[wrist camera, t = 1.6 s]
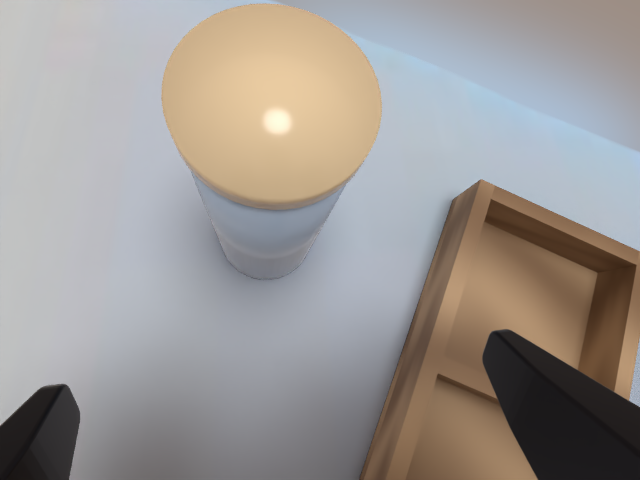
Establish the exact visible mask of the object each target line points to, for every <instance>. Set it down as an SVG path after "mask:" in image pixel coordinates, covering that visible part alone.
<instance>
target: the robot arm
mask: <svg viewBox="0 0 640 480" xmlns="http://www.w3.org/2000/svg"><path fill="white" fill-rule="evenodd" d="M482 362H483V366H484V368H485V371H486V373H487V375H488V378H489V380H490V382H491V385H492V387H493V390H494V392H495V394H496V397H497V399H498V401H499V404H500V406H501V408H502V411H503V413H504V416H505V418H506V420H507V422H508V425H509V427H510V429H511V431H512V433H513V435H514V437H515V438H516V440H517V442H518V444H519V446H520V448H521V450H522V451H523V453H524V455H525V457H526V459H527V461H528V463H529V464H530V466H531V468H532V470H533V472H534V474H535V475H536V477H537V479H538V480H640V407H638V406H637V405H635V404H633V403H632V402H630V401H628V400H627V399H625V398H623V397H622V396H620V395H619V394H617V393H615V392H614V391H612V390H610V389H609V388H607V387H605V386H604V385H602V384H600V383H599V382H597V381H595V380H594V379H592V378H590V377H589V376H587V375H585V374H584V373H582V372H580V371H579V370H577V369H575V368H574V367H572V366H570V365H569V364H567V363H565V362H564V361H562V360H560V359H559V358H557V357H555V356H554V355H552V354H550V353H549V352H547V351H545V350H544V349H542V348H540V347H539V346H537V345H535V344H534V343H532V342H530V341H529V340H527V339H525V338H524V337H522V336H520V335H519V334H517V333H515V332H514V331H512V330H509V329H502V330H494V331H492V332H491V333H490V334H489V336H488V339H487V342H486V345H485V348H484V351H483V354H482ZM79 423H80V411H79V408H78V405H77V403H76V401H75V399H74V397H73V395H72V392H71V390H70V388H69V387H68V386H67V385H66V384H57V385H48V386H44V387H42V388H40V389H39V390H37V391H36V392H35V393H34V394H33V395H32V396H31V397H30V398H29V399H28V400H27V401H26V402H25V403H24V404H23V405H22V406H21V407H19V408H18V409H17V410H16V411H15V412H14V413H13V414H12V415H11V416H10V417H9V418H8V419H7V420H6V421H5V422H4V423H3V424H2V425H1V426H0V480H69V476H70V471H71V466H72V460H73V455H74V450H75V445H76V439H77V434H78V429H79Z"/></svg>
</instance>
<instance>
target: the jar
mask: <svg viewBox="0 0 640 480" xmlns="http://www.w3.org/2000/svg"><path fill="white" fill-rule="evenodd" d="M162 106H163V113H164V116H165V120H166V123H167V126H168V129H169V131H170V133H171V136H172V138H173V140H174V143H175V145H176V147H177V149H178V151H179V154H180V156H181V157H182V159H183V160H184V162H185V163H186V165H187V166H188V168H189V169H190V170H191V173H192V175H193V178H194V180H195V183H196V185H197V188H198V190H199V192H200V195H201V197H202V200H203V202H204V205H205V207H206V210H207V212H208V215H209V217H210V220H211V222H212V225H213V227H214V229H215V232H216V234H217V237H218V239H219V242H220V244H221V247H222V249H223V251H224V254H225V256H226V257H227V259H228V261H229V262H230V263H231V264H232V265H233V266H234V267H235V268H236V269H237V270H238V271H240V272H241V273H243V274H245V275H247V276H249V277H252V278H256V279H264V280H267V279H276V278H279V277H283V276H285V275H287V274H289V273H291V272H292V271H294V270H295V269H296V268H297V267H298V266H299V265H300V264H301V263H302V262H303V260H304V259H305V257H306V255H307V253H308V252H309V250H310V248H311V246H312V245H313V243H314V241H315V239H316V237H317V236H318V234H319V232H320V230H321V228H322V227H323V225H324V223H325V221H326V219H327V218H328V216H329V214H330V212H331V211H332V209H333V207H334V205H335V203H336V202H337V200H338V198H339V196H340V194H341V193H342V191H343V189H344V187H345V185H346V184H347V183H348V182H349V181H350V180H351V178H352V177H353V176H354V175H355V174H356V172H357V171H358V170H359V168H360V167H361V165H362V163H363V162H364V160H365V158H366V157H367V155H368V153H369V152H370V150H371V148H372V146H373V144H374V142H375V140H376V137H377V134H378V131H379V127H380V121H381V112H382V102H381V93H380V88H379V84H378V80H377V78H376V75H375V73H374V70H373V68H372V66H371V64H370V63H369V61H368V59H367V57H366V56H365V54H364V53H363V52H362V50H361V49H360V48H359V46H358V45H357V44H356V43H355V42H354V41H353V40H352V39H351V38H350V37H349V36H348V35H347V34H345V33H344V32H343V31H342V30H341V29H339V28H338V27H337V26H335V25H334V24H332V23H331V22H329V21H327V20H325V19H323V18H322V17H320V16H318V15H315V14H313V13H310V12H308V11H305V10H302V9H299V8H295V7H291V6H285V5H279V4H250V5H243V6H238V7H234V8H231V9H227V10H224V11H222V12H219V13H217V14H214V15H212V16H211V17H209V18H207V19H205V20H204V21H202V22H201V23H199V24H198V25H197V26H195V27H194V28H193V29H191V30H190V31H189V32H188V33H187V34H186V35H185V36H184V37H183V38H182V40H181V41H180V42H179V44H178V45H177V46H176V48H175V49H174V51H173V53H172V55H171V57H170V59H169V61H168V63H167V66H166V69H165V72H164V77H163V82H162Z"/></svg>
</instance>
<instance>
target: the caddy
mask: <svg viewBox="0 0 640 480" xmlns="http://www.w3.org/2000/svg"><path fill="white" fill-rule="evenodd" d="M502 329H509V330H512V331H514V332H515V333H517V334H519V335H520V336H522V337H524V338H525V339H527V340H529V341H530V342H532V343H534V344H535V345H537V346H539V347H540V348H542V349H544V350H545V351H547V352H549V353H550V354H552V355H554V356H555V357H557V358H559V359H560V360H562V361H564V362H565V363H567V364H569V365H570V366H572V367H574V368H575V369H577V370H579V371H580V372H582V373H584V374H585V375H587V376H589V377H590V378H592V379H594V380H595V381H597V382H599V383H600V384H602V385H604V386H605V387H607V388H609V389H610V390H612V391H614V392H615V393H617V394H619V395H620V396H622V397H623V398H625V399H627V400H628V401H629V397H630V391H631V385H632V379H633V373H634V367H635V361H636V355H637V349H638V343H639V337H640V251H637V250H635V249H633V248H631V247H629V246H627V245H624V244H622V243H620V242H618V241H616V240H613V239H611V238H609V237H607V236H605V235H602V234H600V233H598V232H596V231H594V230H591V229H589V228H587V227H585V226H583V225H580V224H578V223H576V222H574V221H572V220H569V219H567V218H565V217H563V216H561V215H558V214H556V213H554V212H552V211H550V210H548V209H545V208H543V207H541V206H539V205H537V204H534V203H532V202H530V201H528V200H526V199H523V198H521V197H519V196H517V195H515V194H512V193H510V192H508V191H506V190H504V189H501V188H499V187H497V186H495V185H493V184H490V183H488V182H486V181H484V180H482V179H481V180H479V181H478V182H477V183H475V184H474V185H472V186H471V187H470V188H468V189H467V190H465V191H464V192H463V193H461V194H460V195H459V196H457V197H456V198H454V199H453V201H452V204H451V207H450V210H449V213H448V216H447V219H446V222H445V225H444V228H443V231H442V234H441V237H440V240H439V243H438V246H437V249H436V252H435V255H434V258H433V261H432V264H431V267H430V270H429V273H428V276H427V279H426V282H425V285H424V288H423V291H422V294H421V297H420V300H419V303H418V306H417V309H416V312H415V315H414V318H413V321H412V324H411V327H410V330H409V333H408V336H407V339H406V342H405V344H404V347H403V350H402V353H401V356H400V359H399V362H398V365H397V368H396V371H395V374H394V377H393V380H392V383H391V386H390V389H389V392H388V395H387V398H386V401H385V404H384V407H383V410H382V413H381V416H380V419H379V422H378V425H377V428H376V431H375V434H374V437H373V440H372V443H371V446H370V449H369V452H368V455H367V458H366V461H365V464H364V467H363V470H362V473H361V476H360V479H359V480H538V479H537V477H536V475H535V474H534V472H533V470H532V468H531V466H530V464H529V463H528V461H527V459H526V457H525V455H524V453H523V451H522V450H521V448H520V446H519V444H518V442H517V440H516V438H515V437H514V435H513V433H512V431H511V429H510V427H509V425H508V422H507V420H506V418H505V416H504V413H503V411H502V408H501V406H500V404H499V401H498V399H497V397H496V394H495V392H494V390H493V387H492V385H491V382H490V380H489V378H488V375H487V373H486V371H485V368H484V366H483V362H482V354H483V351H484V348H485V345H486V342H487V339H488V336H489V334H490V333H491V332H492V331H494V330H502Z"/></svg>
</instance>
